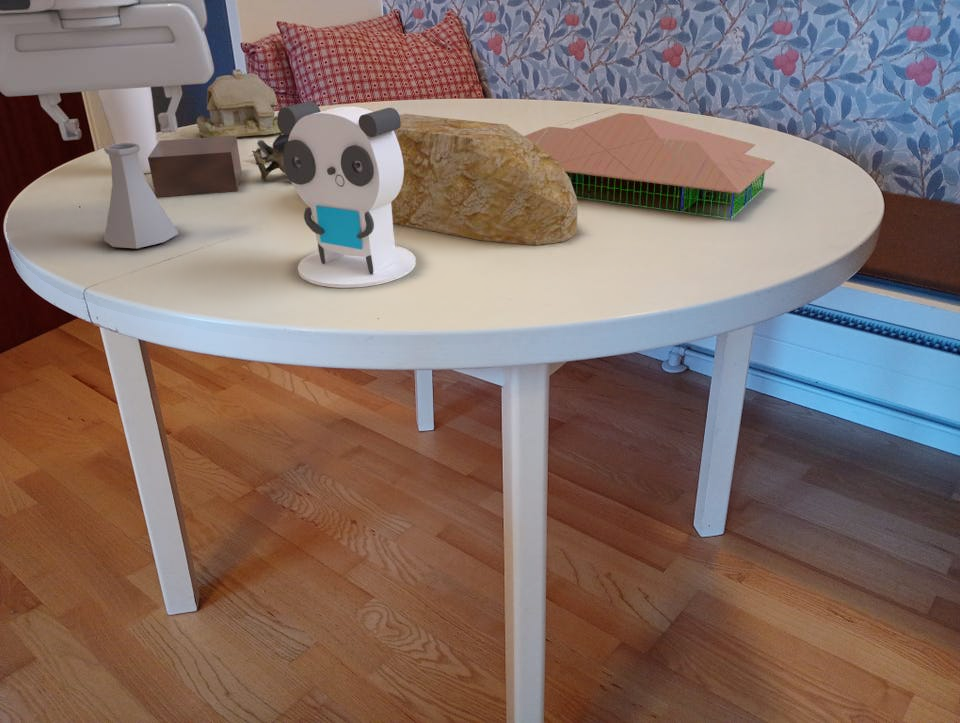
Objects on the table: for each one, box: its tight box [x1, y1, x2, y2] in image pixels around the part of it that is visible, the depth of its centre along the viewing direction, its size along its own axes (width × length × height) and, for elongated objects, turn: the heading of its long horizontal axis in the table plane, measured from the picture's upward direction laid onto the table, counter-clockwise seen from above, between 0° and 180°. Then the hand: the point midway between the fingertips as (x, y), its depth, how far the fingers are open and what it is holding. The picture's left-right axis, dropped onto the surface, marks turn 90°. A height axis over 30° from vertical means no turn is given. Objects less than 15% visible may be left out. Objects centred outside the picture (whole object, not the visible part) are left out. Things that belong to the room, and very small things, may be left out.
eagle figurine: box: [252, 134, 292, 184], centre depth 108 cm, size 8×7×9 cm
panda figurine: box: [276, 100, 417, 289], centre depth 77 cm, size 12×11×15 cm
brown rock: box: [391, 113, 579, 246], centre depth 92 cm, size 36×11×10 cm, turn 56°
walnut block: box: [148, 136, 243, 198], centre depth 107 cm, size 10×10×5 cm
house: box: [523, 112, 776, 220], centre depth 103 cm, size 23×33×8 cm
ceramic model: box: [196, 68, 281, 138], centre depth 135 cm, size 14×11×10 cm
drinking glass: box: [97, 87, 159, 175], centre depth 112 cm, size 7×7×15 cm
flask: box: [103, 143, 180, 249], centre depth 86 cm, size 7×7×10 cm
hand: (121, 135), depth 84 cm, fingers open, 8 cm apart
